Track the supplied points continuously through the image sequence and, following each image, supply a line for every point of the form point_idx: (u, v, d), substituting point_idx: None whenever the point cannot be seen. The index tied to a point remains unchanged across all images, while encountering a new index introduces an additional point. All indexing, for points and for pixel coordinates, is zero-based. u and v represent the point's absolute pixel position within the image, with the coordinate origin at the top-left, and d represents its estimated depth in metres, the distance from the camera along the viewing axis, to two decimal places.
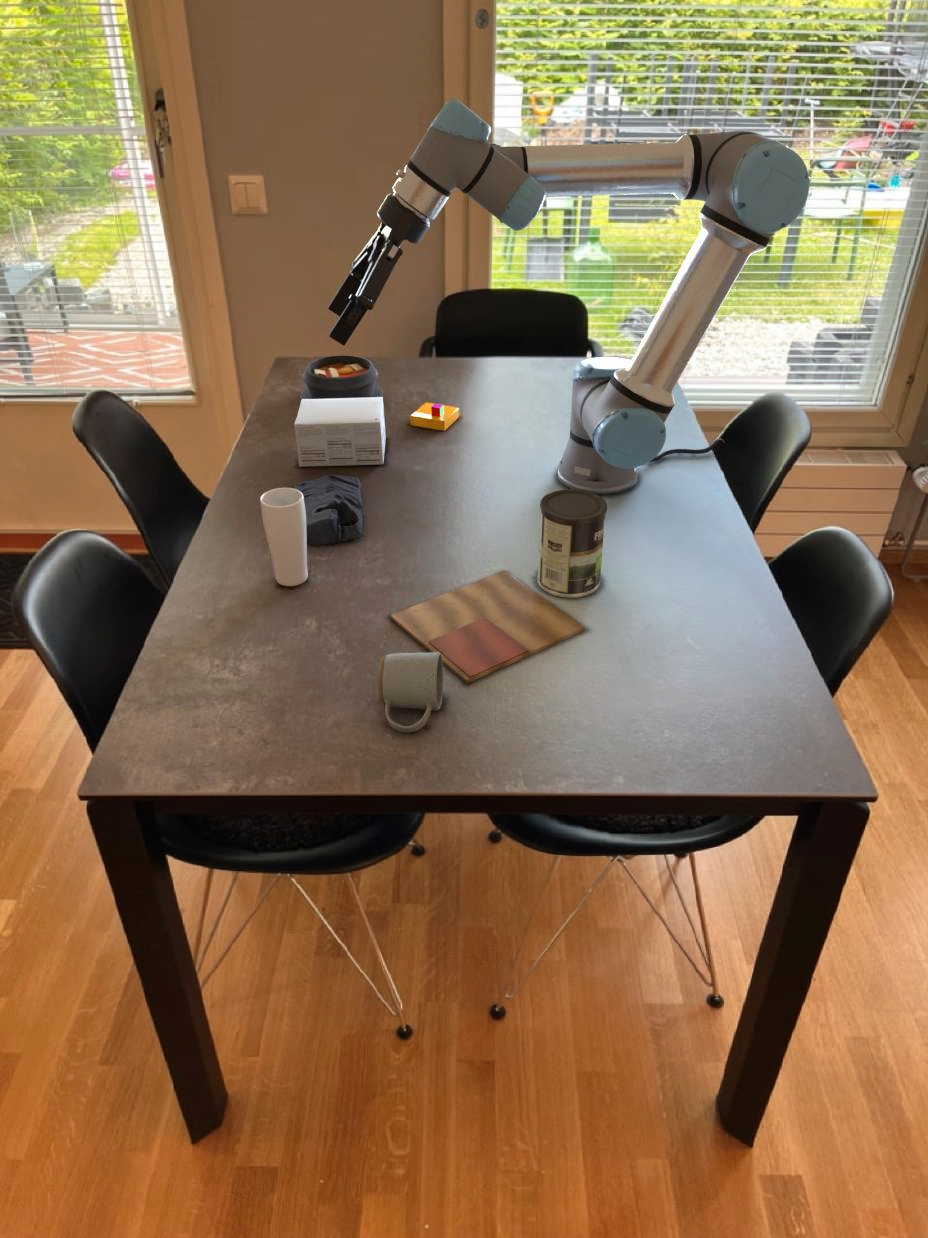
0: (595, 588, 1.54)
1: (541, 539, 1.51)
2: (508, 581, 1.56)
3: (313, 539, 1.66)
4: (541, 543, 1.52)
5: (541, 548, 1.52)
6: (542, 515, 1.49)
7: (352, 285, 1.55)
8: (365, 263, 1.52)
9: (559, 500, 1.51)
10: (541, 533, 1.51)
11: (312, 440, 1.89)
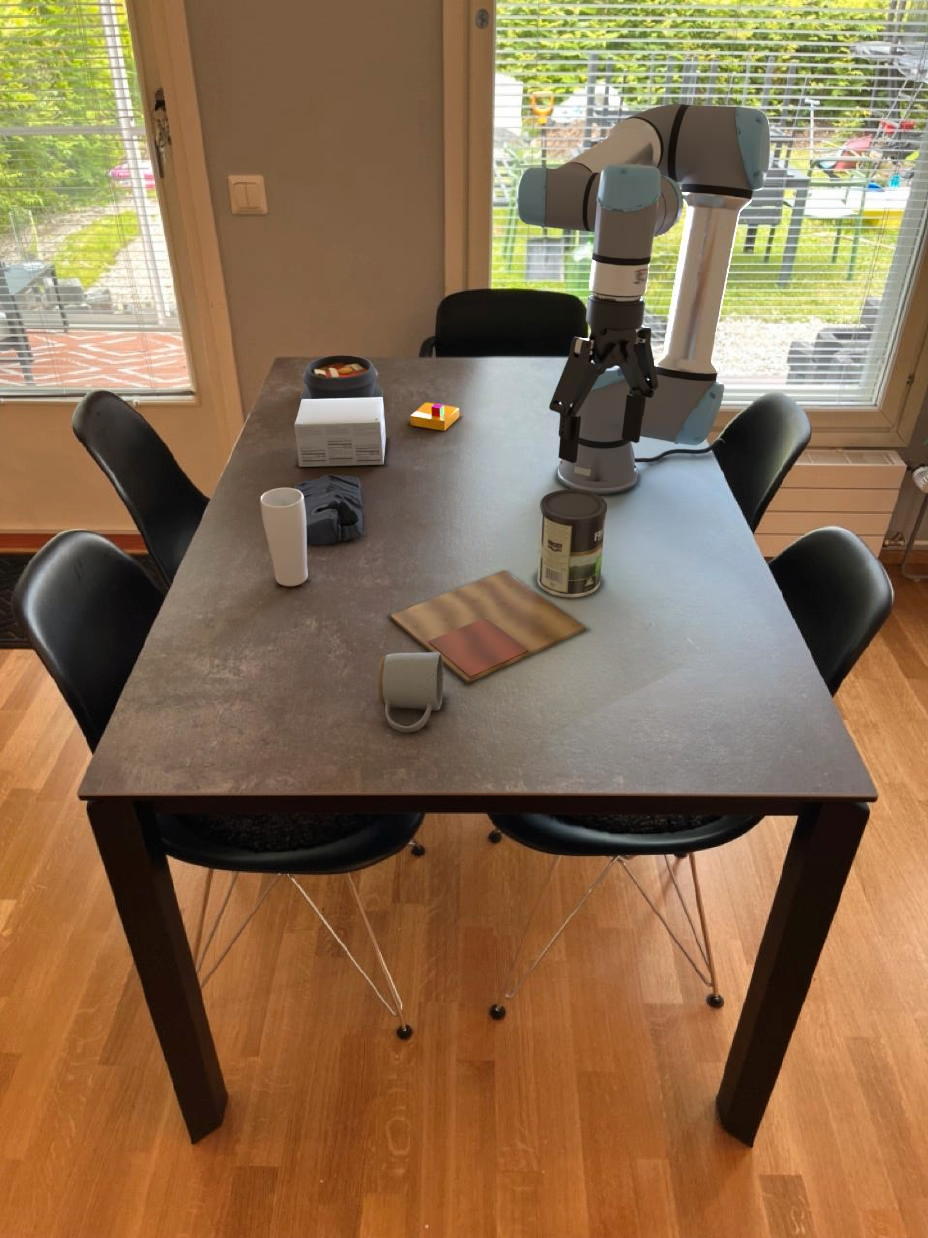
0: (595, 588, 1.54)
1: (541, 539, 1.51)
2: (508, 581, 1.56)
3: (313, 539, 1.66)
4: (541, 543, 1.52)
5: (541, 548, 1.52)
6: (542, 515, 1.49)
7: None
8: None
9: (559, 500, 1.51)
10: (541, 533, 1.51)
11: (312, 441, 1.89)
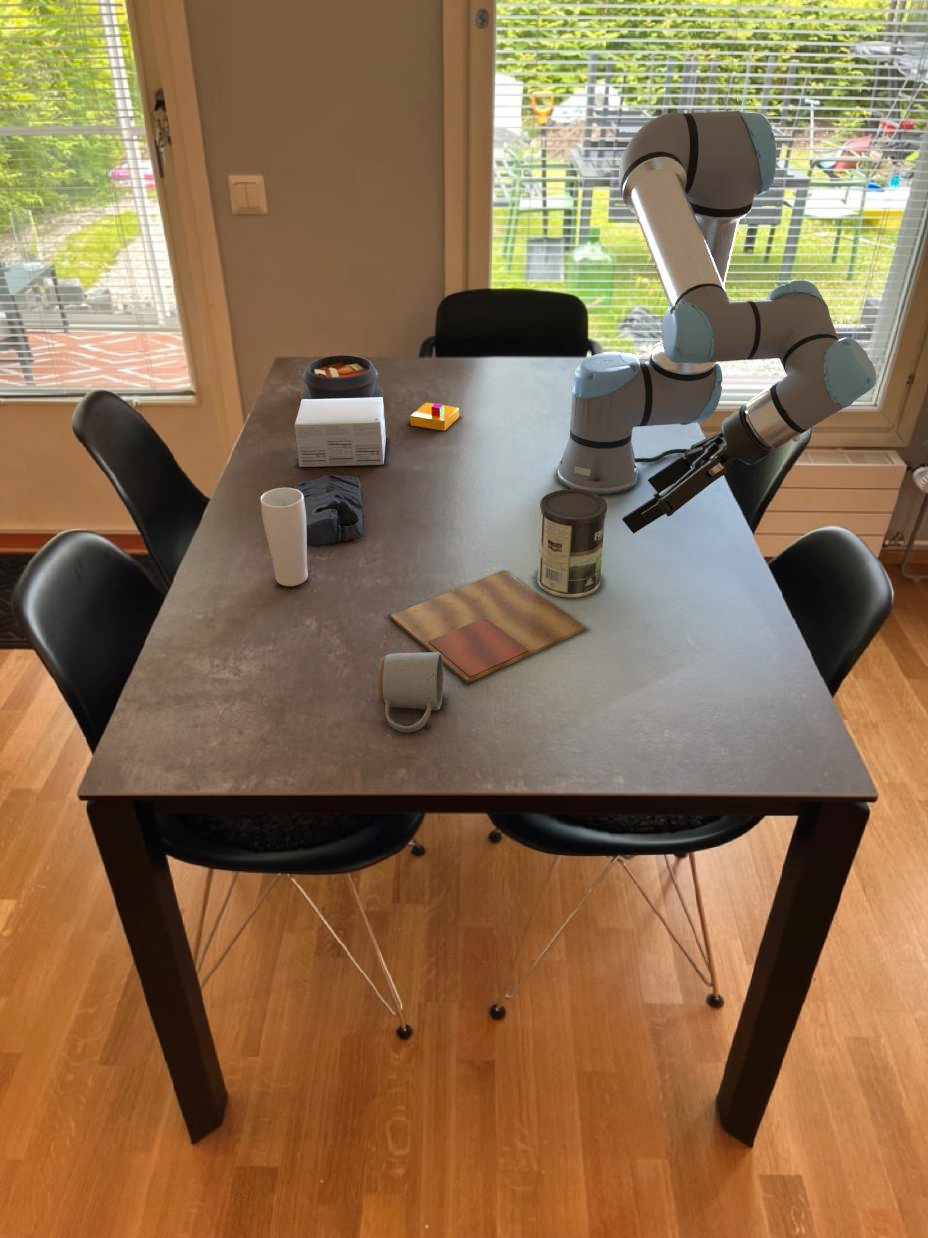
0: (595, 588, 1.54)
1: (541, 539, 1.51)
2: (508, 581, 1.56)
3: (313, 539, 1.66)
4: (541, 543, 1.52)
5: (541, 548, 1.52)
6: (542, 515, 1.49)
7: None
8: None
9: (559, 500, 1.51)
10: (541, 533, 1.51)
11: (312, 441, 1.89)
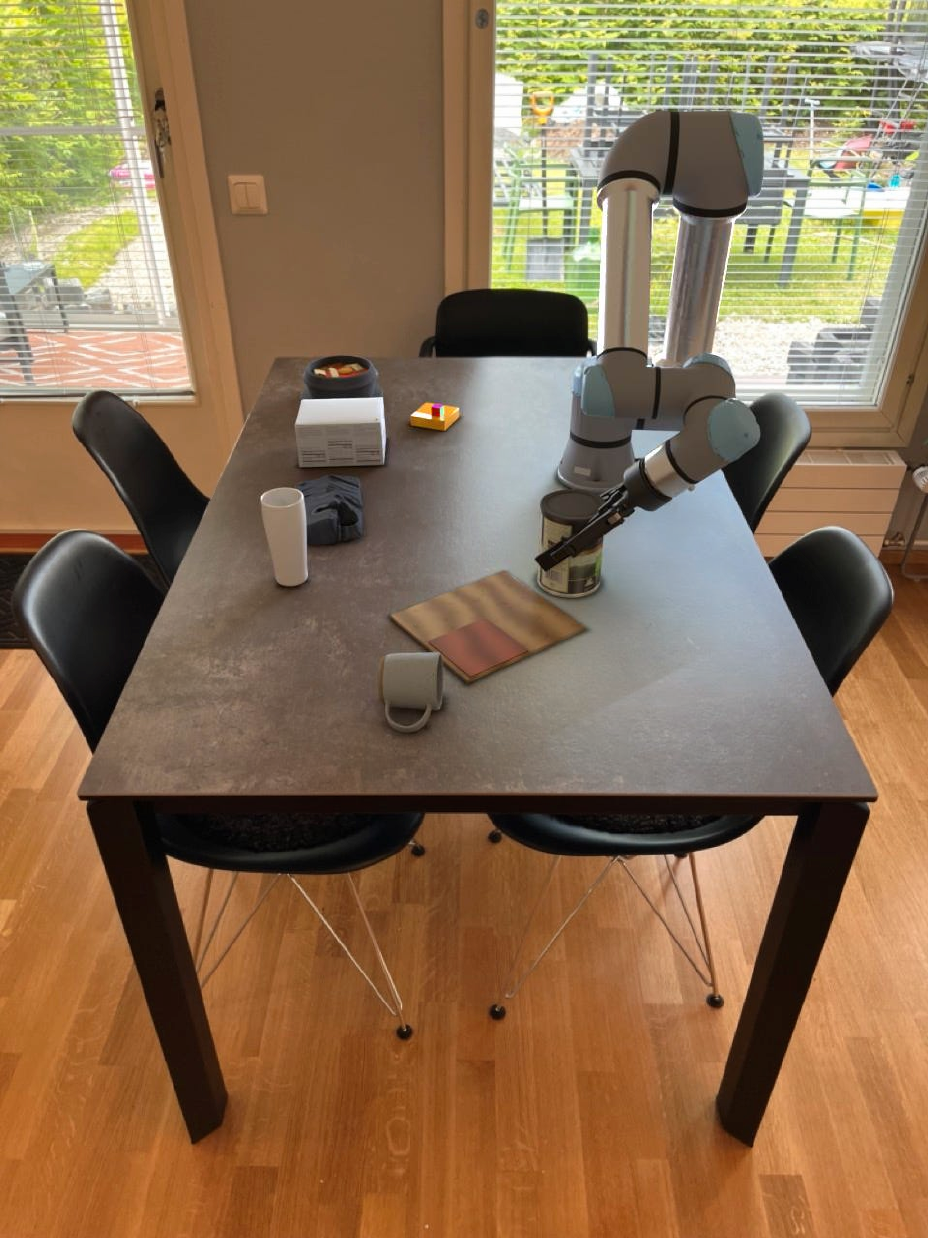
0: (595, 588, 1.54)
1: (541, 539, 1.51)
2: (508, 581, 1.56)
3: (313, 539, 1.66)
4: (541, 543, 1.52)
5: (541, 548, 1.52)
6: (542, 515, 1.49)
7: None
8: None
9: (559, 500, 1.51)
10: (541, 533, 1.51)
11: (313, 441, 1.89)
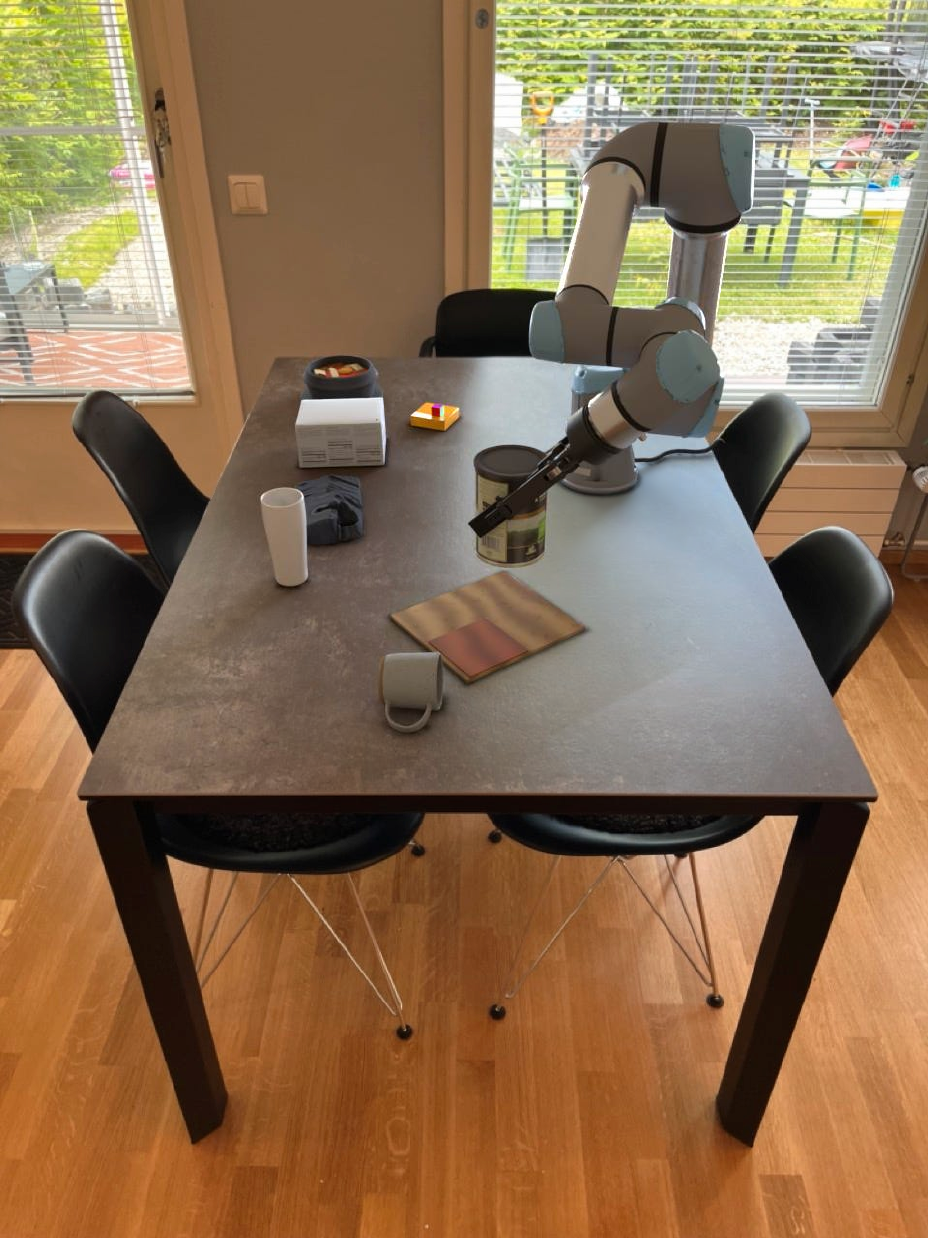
0: (539, 557, 1.36)
1: (476, 501, 1.33)
2: (508, 581, 1.56)
3: (313, 539, 1.66)
4: (476, 505, 1.33)
5: (476, 511, 1.33)
6: (476, 473, 1.30)
7: None
8: None
9: (496, 456, 1.32)
10: (475, 494, 1.32)
11: (313, 441, 1.89)
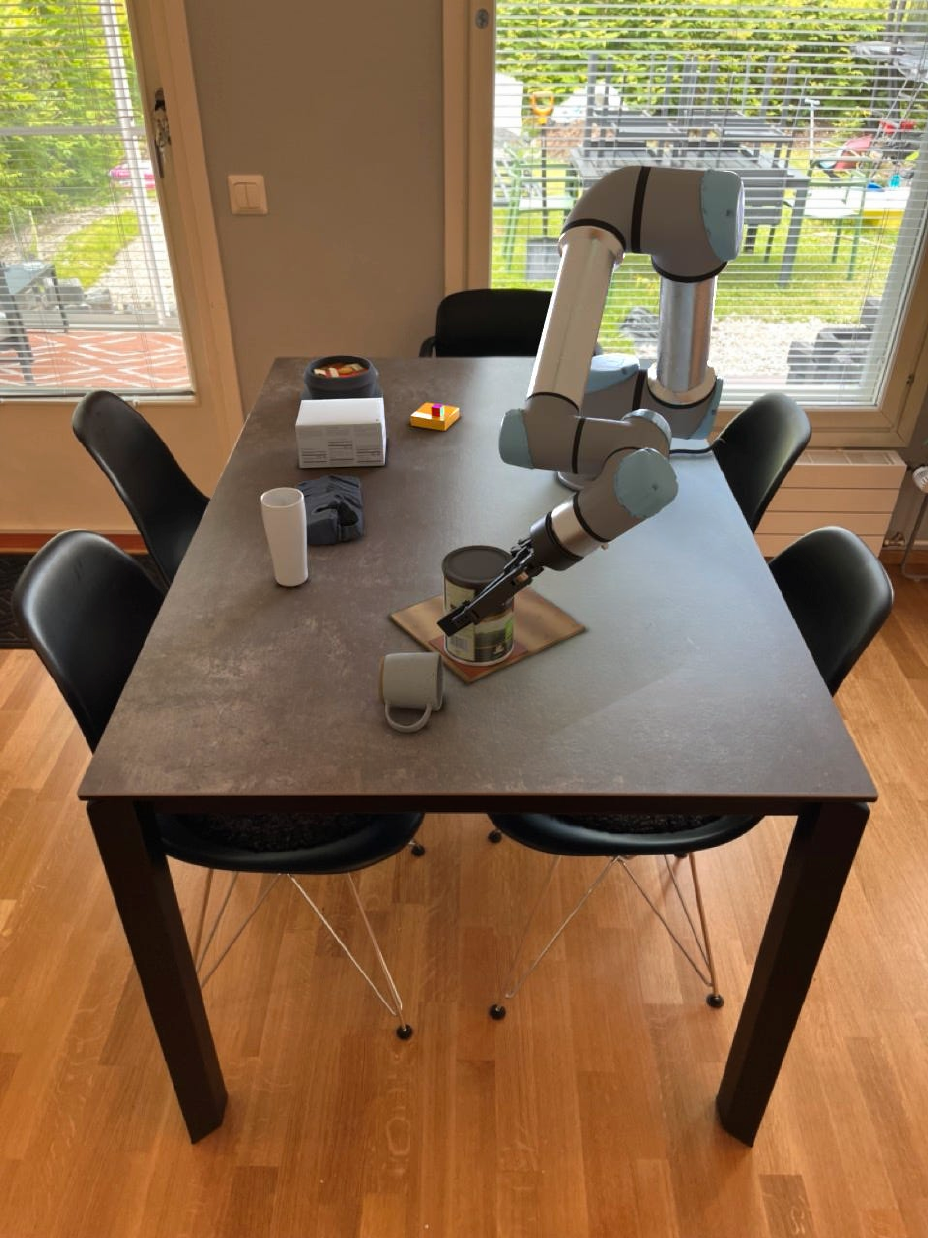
0: (506, 655, 1.39)
1: (444, 602, 1.36)
2: None
3: (313, 539, 1.66)
4: (444, 606, 1.36)
5: (445, 612, 1.36)
6: (443, 576, 1.33)
7: None
8: None
9: (464, 558, 1.35)
10: (443, 596, 1.35)
11: (313, 442, 1.88)
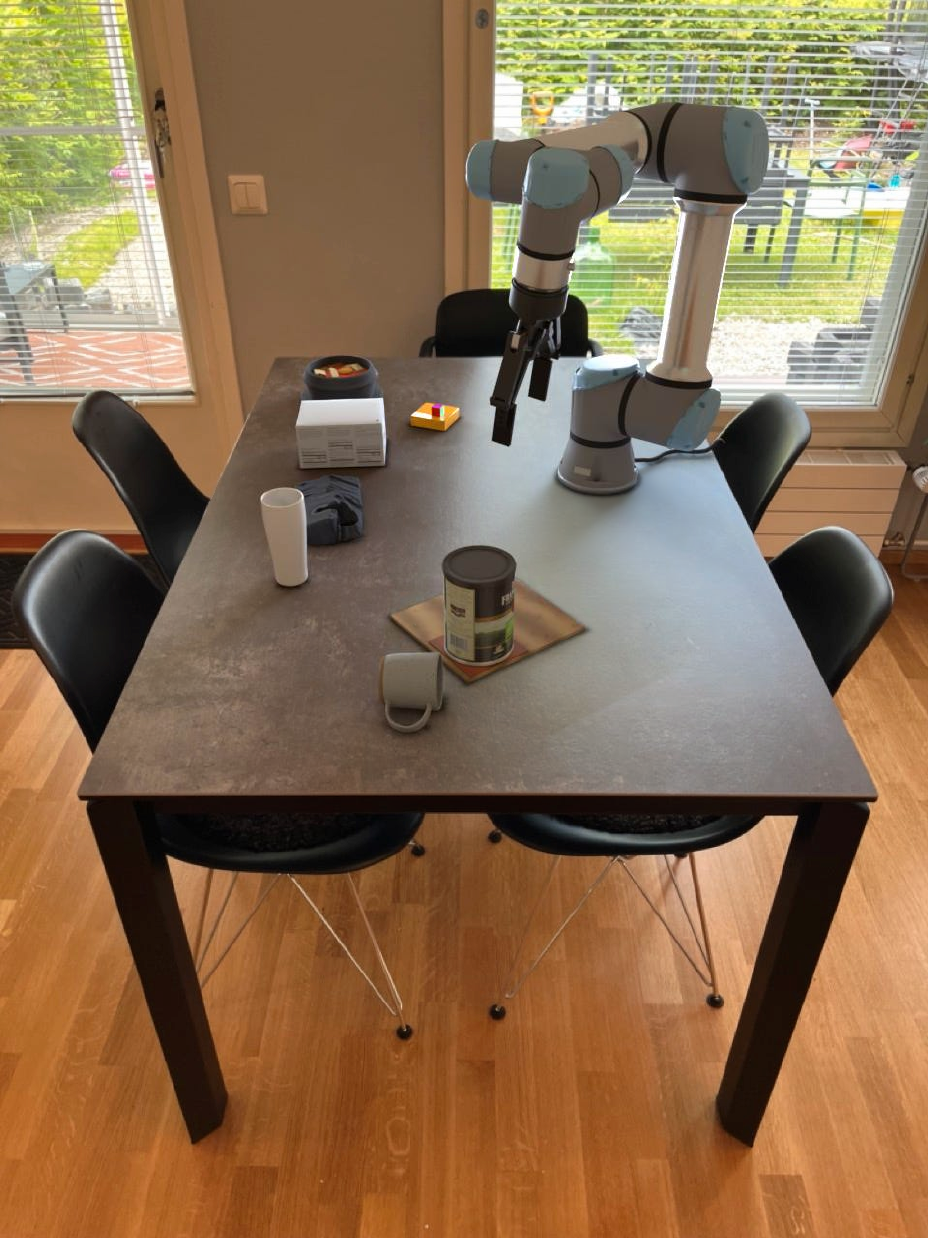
0: (507, 655, 1.39)
1: (444, 602, 1.36)
2: None
3: (313, 539, 1.66)
4: (444, 606, 1.36)
5: (445, 612, 1.36)
6: (444, 576, 1.33)
7: None
8: None
9: (464, 558, 1.35)
10: (444, 596, 1.35)
11: (313, 442, 1.88)
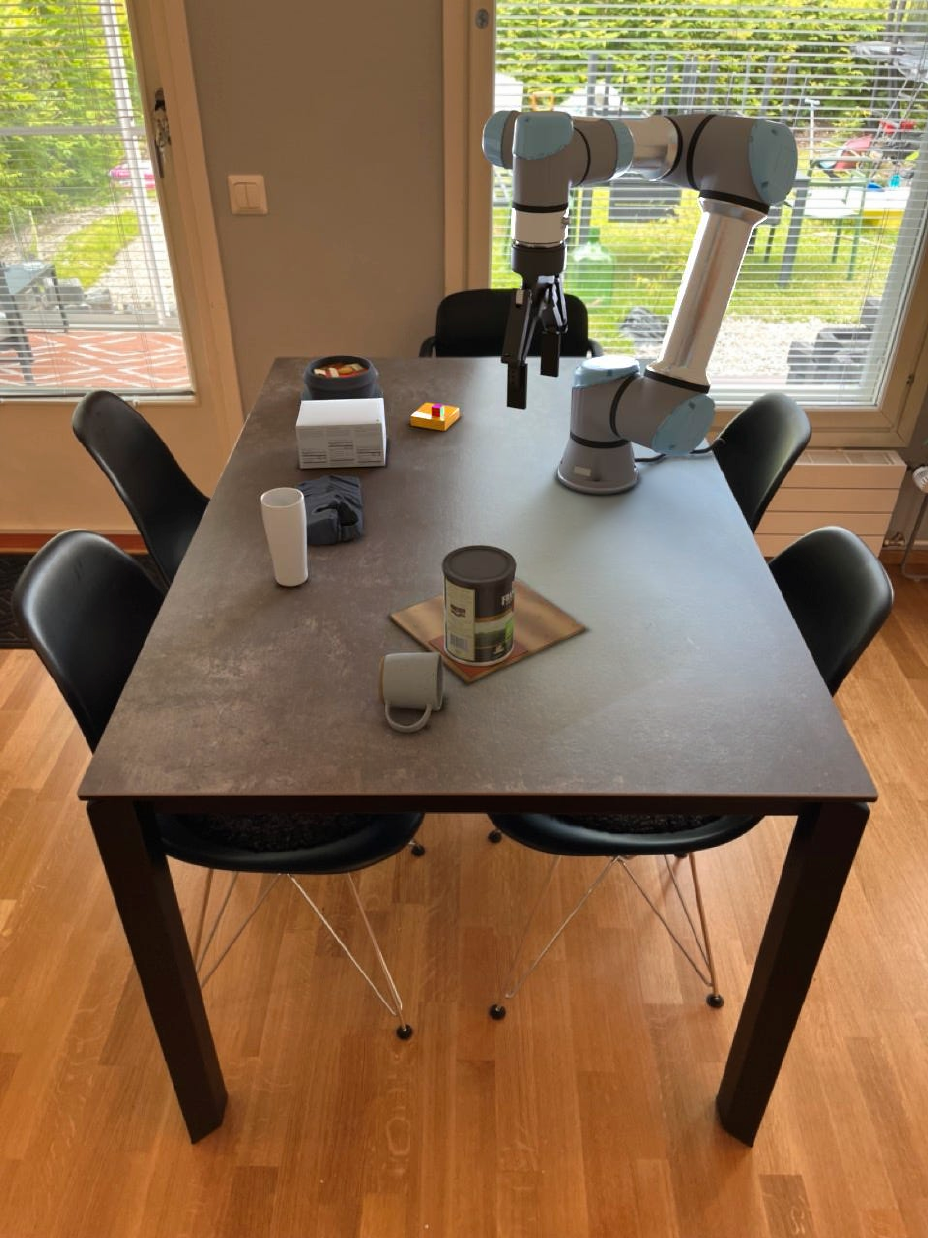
0: (507, 655, 1.39)
1: (444, 602, 1.36)
2: None
3: (313, 539, 1.66)
4: (444, 606, 1.36)
5: (445, 612, 1.36)
6: (444, 576, 1.33)
7: None
8: None
9: (464, 558, 1.35)
10: (444, 596, 1.35)
11: (313, 442, 1.88)
